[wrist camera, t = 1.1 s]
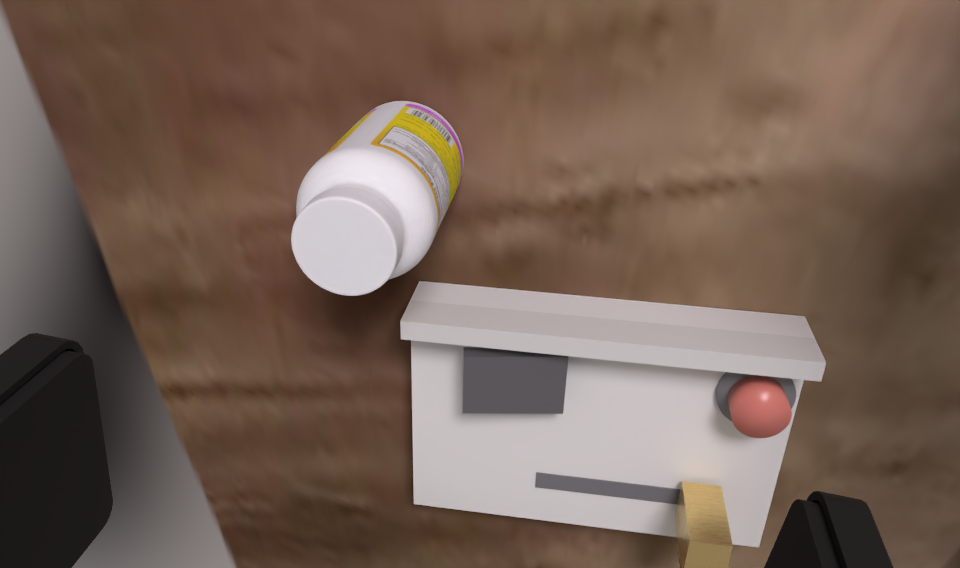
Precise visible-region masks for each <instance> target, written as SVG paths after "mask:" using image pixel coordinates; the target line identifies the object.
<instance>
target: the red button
mask: <svg viewBox="0 0 960 568" xmlns="http://www.w3.org/2000/svg"><path fill="white" fill-rule="evenodd" d="M728 405H729V409H730V413H731V417H732V421H733V424H734V426H735V427H736V429H737V430H738V431H739V432H741V433H742V434H744V435H746V436H749V437H752V438H768V437H772V436H775V435H777V434H779V433H780V432H782V431H783V430H784V429H785V428H786V427H787V426H788V425H789V423H790V421H791V417H792V411H791V407H790V404H789V401H788V399H787V396H786V393H785V390H784V388H783V387H782V385H781V384H780V383H779V382H778V381H776V380H775V379H773V378H770V377H767V376H760V375H756V376H750V377H746V378H744V379H742V380H740V381H738V382H737V383H736V384H735V385H734V386H733V387H732V388H731V390H730V392H729V394H728Z"/></svg>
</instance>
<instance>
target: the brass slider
mask: <svg viewBox="0 0 960 568" xmlns="http://www.w3.org/2000/svg"><path fill="white" fill-rule="evenodd" d="M675 528H676V537H677V546H678V555H679V564H680V568H728V565H729V561H730V557H731V553H732V549H733V544H732V539H731V534H730V528H729V523H728V518H727V513H726V508H725V503H724V497H723V492H722V487H721V486H718V485H709V484H701V483H692V482H684V481H682V484H681V489H680V494H679V499H678V504H677V509H676V515H675Z"/></svg>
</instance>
